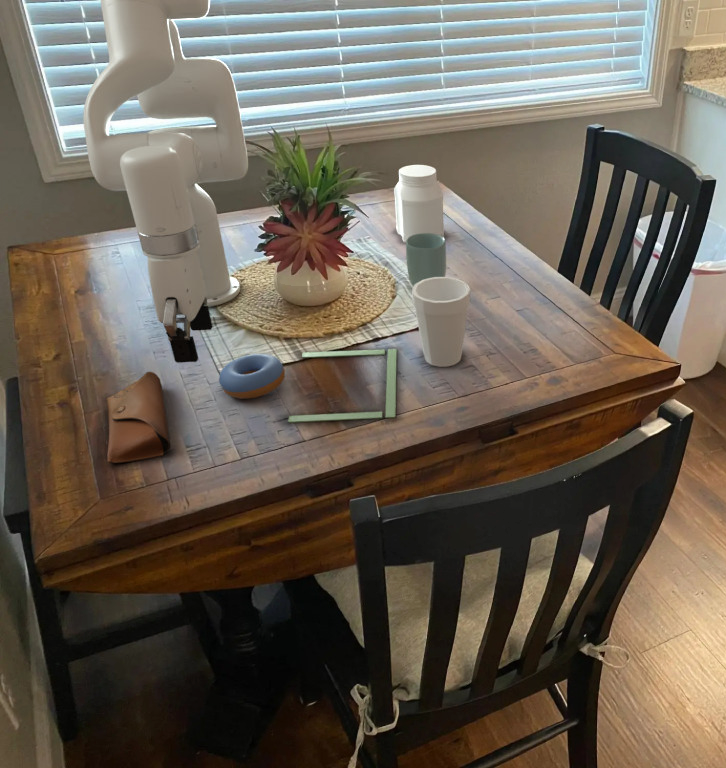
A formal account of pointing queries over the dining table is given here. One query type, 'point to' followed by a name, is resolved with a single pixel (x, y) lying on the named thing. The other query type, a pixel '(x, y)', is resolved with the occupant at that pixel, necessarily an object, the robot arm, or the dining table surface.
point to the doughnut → (252, 376)
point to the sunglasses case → (138, 421)
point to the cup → (425, 256)
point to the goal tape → (364, 415)
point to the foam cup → (441, 318)
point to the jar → (418, 202)
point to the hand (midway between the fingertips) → (194, 344)
